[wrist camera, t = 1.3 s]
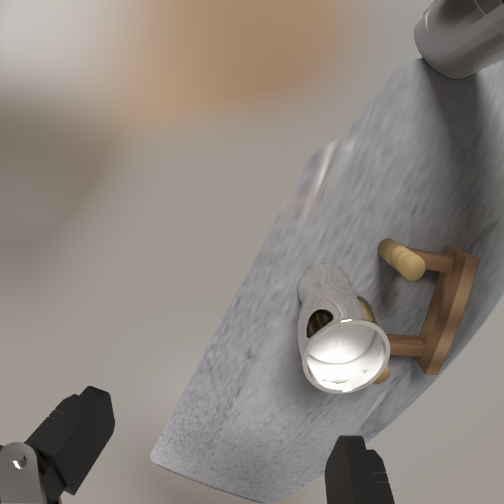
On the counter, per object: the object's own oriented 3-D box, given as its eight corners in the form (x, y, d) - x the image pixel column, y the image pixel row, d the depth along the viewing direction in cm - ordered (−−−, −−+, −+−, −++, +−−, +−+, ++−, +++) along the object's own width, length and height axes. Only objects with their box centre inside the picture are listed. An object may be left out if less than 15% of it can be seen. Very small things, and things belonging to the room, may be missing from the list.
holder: (381, 232, 33) (407, 248, 25) (458, 248, 32) (493, 266, 24) (350, 349, 36) (363, 387, 29) (424, 354, 36) (446, 388, 28)
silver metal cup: (310, 249, 34) (330, 301, 20) (363, 274, 34) (410, 336, 20) (283, 301, 36) (282, 379, 21) (335, 324, 36) (359, 405, 21)
